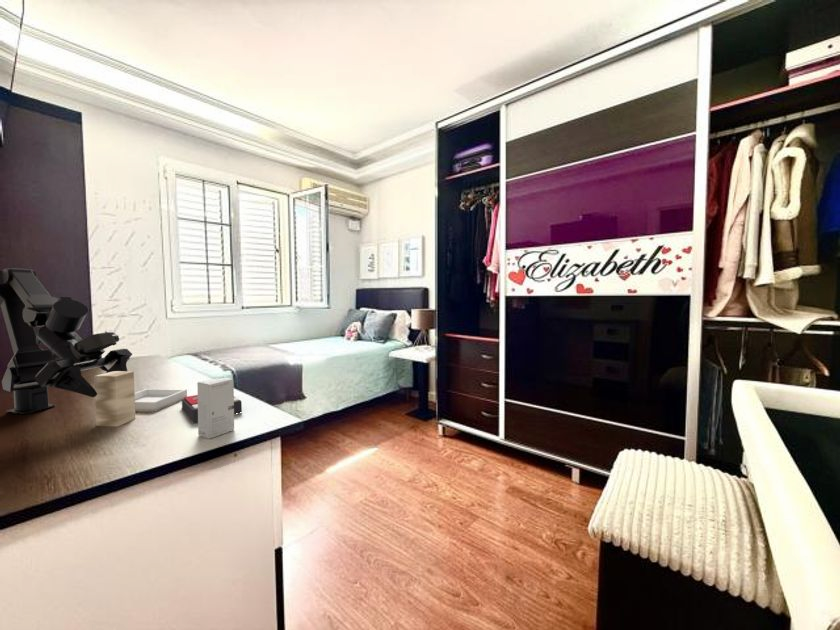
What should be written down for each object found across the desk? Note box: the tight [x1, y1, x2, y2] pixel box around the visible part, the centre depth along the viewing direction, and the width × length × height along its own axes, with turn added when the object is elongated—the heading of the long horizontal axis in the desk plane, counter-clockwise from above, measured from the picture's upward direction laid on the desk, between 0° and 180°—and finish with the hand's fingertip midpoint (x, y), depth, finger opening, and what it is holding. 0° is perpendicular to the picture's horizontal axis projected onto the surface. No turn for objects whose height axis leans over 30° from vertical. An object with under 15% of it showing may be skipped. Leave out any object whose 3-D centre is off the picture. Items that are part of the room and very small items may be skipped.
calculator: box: [181, 394, 243, 424], centre depth 91 cm, size 11×4×15 cm
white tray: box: [134, 388, 188, 413], centre depth 96 cm, size 12×12×2 cm
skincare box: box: [196, 376, 235, 440], centre depth 77 cm, size 6×4×12 cm
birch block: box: [93, 370, 136, 427], centre depth 82 cm, size 5×5×12 cm
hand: (114, 390), depth 81 cm, fingers open, 9 cm apart
